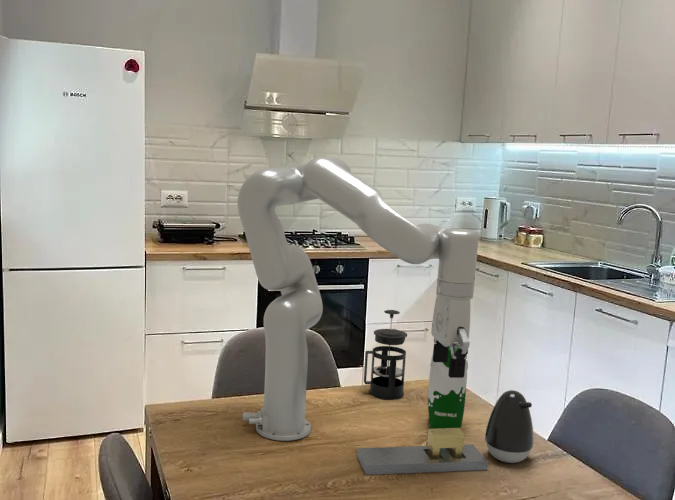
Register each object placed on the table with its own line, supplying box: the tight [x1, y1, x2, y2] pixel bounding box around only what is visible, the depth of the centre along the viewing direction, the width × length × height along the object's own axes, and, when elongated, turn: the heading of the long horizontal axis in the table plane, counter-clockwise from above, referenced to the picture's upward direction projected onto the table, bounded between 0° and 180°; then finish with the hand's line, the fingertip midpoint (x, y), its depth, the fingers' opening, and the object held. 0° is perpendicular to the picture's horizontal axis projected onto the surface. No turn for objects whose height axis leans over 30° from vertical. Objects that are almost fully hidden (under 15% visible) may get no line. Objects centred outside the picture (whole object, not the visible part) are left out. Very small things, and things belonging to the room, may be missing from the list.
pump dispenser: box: [484, 389, 535, 464], centre depth 146 cm, size 10×10×15 cm
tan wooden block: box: [426, 428, 466, 460], centre depth 143 cm, size 7×3×7 cm, turn 101°
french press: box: [363, 309, 408, 401], centre depth 181 cm, size 12×9×23 cm
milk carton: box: [427, 345, 469, 430], centre depth 161 cm, size 9×9×20 cm
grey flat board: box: [356, 443, 489, 476], centre depth 142 cm, size 26×8×2 cm, turn 101°
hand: (447, 369), depth 141 cm, fingers open, 9 cm apart
